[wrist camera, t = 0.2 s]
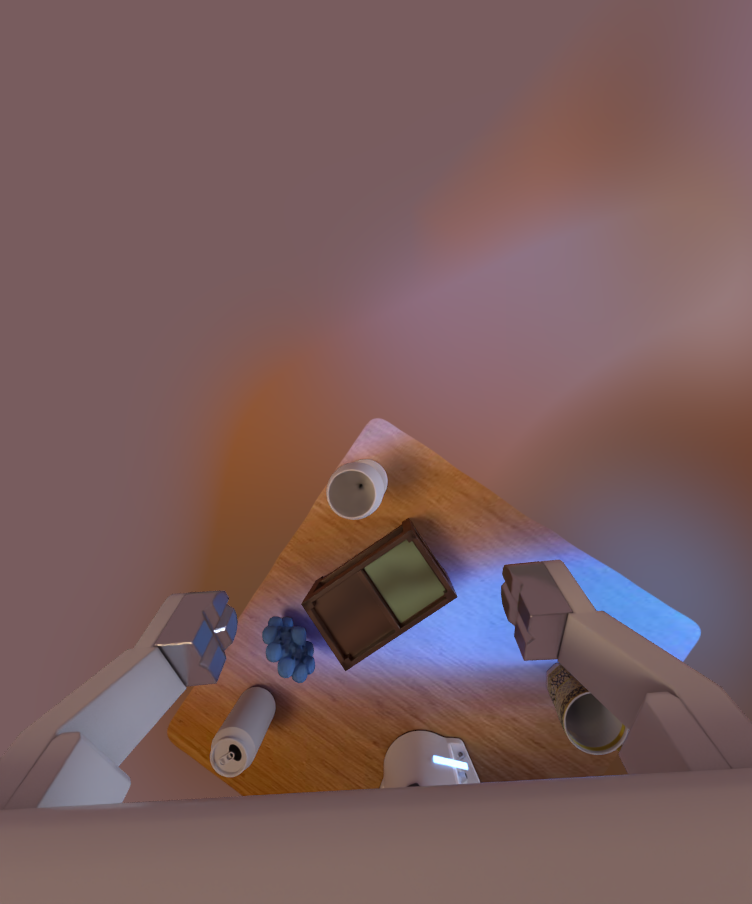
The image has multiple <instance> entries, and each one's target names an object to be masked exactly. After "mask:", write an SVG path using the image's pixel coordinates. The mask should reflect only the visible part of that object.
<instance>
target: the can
mask: <svg viewBox="0 0 752 904" xmlns="http://www.w3.org/2000/svg"><path fill="white" fill-rule="evenodd" d="M275 710H276V705H275V701H274V698H273V696H272V695H271V694H270V692H268V691H267V690H266V689H264V688H260V687H252V688H249V689H247V690H246V691H244V692H243V693H242V695H241V696H240V698H239V699H238V701H237V703H236V704H235V706H234V707H233V709H232V710H231V712H230V714H229V715H228V717H227V718H226V720H225V721H224V723H223V725H222V726H221V728H220V729H219V731H218V732H217V734H216V736H215V737H214V739H213V741H212V745H211V753H210V761H211V764H212V767H213V768H214V770H215V771H216V772H217V773H219V774H220V775H222V776H225V777H234V776H237V775H239V774H240V773H242V772H243V770H245V769H246V768H247V767H249V766H250V764H251V763H252V761H253V760H254V758H255V755H256V753H257V751H258V749H259V747H260V745H261V742H262V740H263V738H264V736H265V734H266V732H267V729H268V727H269V725H270V723H271V721H272V719H273V716H274V714H275Z"/></svg>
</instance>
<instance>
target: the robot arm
mask: <svg viewBox="0 0 752 904" xmlns="http://www.w3.org/2000/svg"><path fill="white" fill-rule="evenodd" d="M502 575H503V577H504V579H505V583H504V584H503V585H502V586H501V597H502V604H503V607H504V611H505V614H506V616H507V619H508V621H509V622H511V623H512V624H513V625H514V626H515V633H514V637H515V639H516V642H517V644H518V647H519V649H520V652H521V654H522V657H523V659H524V661H527V660H550V659H558V662H559V663H560V664H561V665H562V666H563V667H564V668H565V669H566V670H567V671H568V672H570V673H571V674H572V675H573V676H574V677H575V678H576V679H577V680H578V681H579V682H580V683H581V684H582V685H583V686H584V687H585V688H586V689H587V690H588V691H589V692H590V693H591V694H592V695H593V696H594V697H595V698H597V699H598V700H599V701H600V702H601V703H602V704H603V705H604V706H605V707H606V708H607V709H608V710H609V711H610V712H611V713H612V714H613V715H614V716H615V717H616V718H617V719H618V720H619V721H620V722H621V723H622V724H623V725H625V726H626V727H627V728H628V729H629V732H628V734H627V736H626V739H625V741H624V743H623V745H622V747H621V750H620V752H619V757H620V759H621V761H622V763H623V765H624V767H625V769H626V771H627V773H628V775H614V776H596V777H578V778H560V779H542V780H524V781H506V782H488V783H480V780H479V778H478V776H477V773H476V771H475V769H474V766H473V764H472V762H471V759H470V757H469V755H468V752H467V750H466V748H465V745H464V743H463V741H462V740H460V739H458V738H445V737H442V736H439V735H437V734H435V733H432V732H428V731H413V732H409V733H406V734H404V735H402V736H400V737H399V738H397V739H396V740H395V741H394V742H393V743H392V744H391V746H390V747H389V749H388V751H387V753H386V756H385V760H384V778H383V780H382V783H381V785H380V789H362V790H345V791H327V792H309V793H291V794H273V795H255V796H239V797H220V798H203V799H184V800H167V801H149V802H132V803H122V802H123V800H124V798H125V796H126V794H127V792H128V789H129V787H130V785H131V781H130V777H129V776H128V775H127V774H126V773H125V772H123V771H122V770H121V769H120V768H119V767H118V766H119V765H120V764H121V763H122V762H123V761H124V759H125V758H126V757H127V756H128V755H129V754H130V753H131V751H132V750H133V749H134V748H135V747H136V746H137V745H138V743H139V742H140V741H141V740H142V739H143V738H144V736H145V735H146V734H147V733H148V732H149V731H150V730H151V728H152V727H153V726H154V725H155V724H156V723H157V722H158V720H159V719H160V718H161V717H162V716H163V715H164V714H165V712H166V711H167V710H168V709H169V708H170V706H171V705H172V704H173V703H174V702H175V701H176V700H177V699H178V698H179V696H180V695H181V694H182V693H183V692H184V691H185V690H186V687H187V686H196V685H206V684H215V683H217V681H218V678H219V676H220V673H221V671H222V668H223V666H224V663H225V660H226V655H225V652H224V651H225V650H226V649H227V648H228V647H229V646H230V645H231V644H232V643H233V640H234V637H235V635H236V631H237V623H238V621H237V615H236V612H235V610H234V608H232V607H230V606H229V605H228V604H227V602H228V599H229V598H228V596H227V594H226V592H225V591H207V592H190V593H179V594H172V595H170V596H169V597H168V598H167V599H166V600H165V601H164V603H163V604H162V606H161V607H160V609H159V610H158V612H157V613H156V615H155V616H154V618H153V620H152V621H151V622H150V624H149V626H148V627H147V629H146V630H145V632H144V633H143V635H142V636H141V638H140V639H139V641H138V642H137V644H136V645H135V647H134V648H133V649H127V650H126V651H125V652H124V653H122V654H121V655H120V656H118V657H117V658H116V659H115V660H113V661H112V662H111V663H110V664H108V665H107V666H106V667H104V668H103V669H102V670H101V671H99V672H98V673H97V674H95V675H94V676H93V677H92V678H90V679H89V680H88V681H86V682H85V683H84V684H83V685H81V686H80V687H79V688H78V689H76V690H75V691H74V692H72V693H71V694H70V695H69V696H67V697H66V698H65V699H63V700H62V701H61V702H60V703H58V704H57V705H56V706H54V707H53V708H52V709H51V710H50V711H48V712H47V713H46V714H44V715H43V716H42V717H40V718H39V719H38V720H37V721H35V722H34V723H33V724H31V725H30V726H29V727H28V728H26V729H25V730H24V731H22V732H21V733H20V734H19V735H18V737H17V738H16V739H15V741H14V742H13V743H12V745H11V746H10V747H9V748H8V749H7V751H6V752H5V753H4V755H3V756H2V757H1V758H0V904H752V722H751V721H750V720H749V719H748V718H747V717H746V715H745V714H744V713H743V712H742V711H741V709H740V708H739V707H738V706H737V705H736V704H735V702H734V701H733V700H732V699H731V698H730V697H729V695H728V694H727V693H726V692H725V691H724V690H723V688H722V687H721V686H719V685H718V684H716V683H715V682H713V681H711V680H710V679H708V678H707V677H705V676H704V675H702V674H701V673H699V672H697V671H696V670H694V669H693V668H691V667H689V666H688V665H686V664H685V663H683V662H682V661H680V660H679V659H677V658H676V657H674V656H672V655H671V654H669V653H668V652H666V651H665V650H663V649H662V648H660V647H658V646H657V645H655V644H654V643H652V642H651V641H649V640H647V639H646V638H644V637H643V636H641V635H640V634H638V633H637V632H635V631H633V630H632V629H630V628H629V627H627V626H626V625H624V624H623V623H621V622H619V621H618V620H616V619H615V618H613V617H612V616H610V615H608V614H607V613H605V612H604V611H596V609H595V608H594V606H593V605H592V604H591V602H590V601H589V599H588V598H587V596H586V595H585V593H584V592H583V590H582V589H581V587H580V586H579V585H578V583H577V582H576V580H575V579H574V577H573V576H572V574H571V573H570V571H569V570H568V568H567V567H566V566H565V564H564V563H563V562H562V561H561V560H552V561H541V562H539V561H538V562H529V563H519V564H509V565H504V567H503V573H502ZM459 752H462V753H459Z"/></svg>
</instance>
